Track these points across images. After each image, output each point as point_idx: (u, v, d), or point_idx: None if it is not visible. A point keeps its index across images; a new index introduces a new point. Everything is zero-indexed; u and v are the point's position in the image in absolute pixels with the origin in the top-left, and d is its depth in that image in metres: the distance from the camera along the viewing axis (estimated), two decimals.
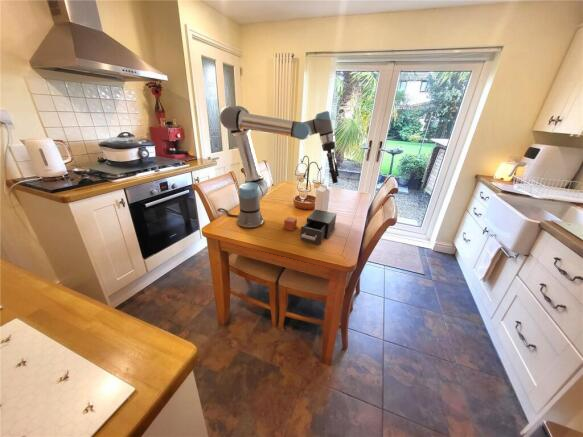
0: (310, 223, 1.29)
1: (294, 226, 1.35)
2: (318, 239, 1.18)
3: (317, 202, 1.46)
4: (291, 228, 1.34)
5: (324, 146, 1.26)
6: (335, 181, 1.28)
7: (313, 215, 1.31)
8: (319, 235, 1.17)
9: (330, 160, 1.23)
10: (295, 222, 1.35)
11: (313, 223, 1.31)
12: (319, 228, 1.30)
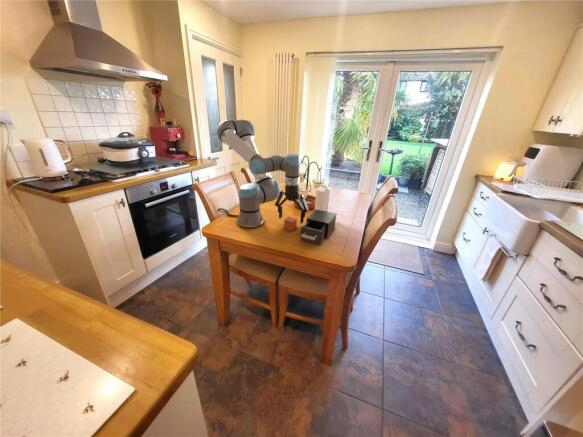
0: (310, 223, 1.29)
1: (294, 226, 1.35)
2: (318, 239, 1.18)
3: (317, 202, 1.46)
4: (291, 228, 1.34)
5: None
6: None
7: (313, 215, 1.31)
8: (319, 235, 1.17)
9: None
10: (295, 222, 1.35)
11: (313, 223, 1.31)
12: (319, 228, 1.30)
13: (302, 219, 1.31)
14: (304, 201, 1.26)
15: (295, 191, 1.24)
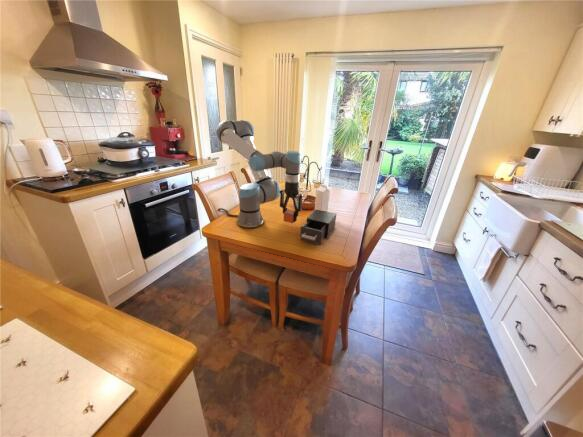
0: (310, 223, 1.29)
1: None
2: (318, 239, 1.18)
3: (317, 202, 1.46)
4: (291, 220, 1.32)
5: None
6: None
7: (313, 215, 1.31)
8: (319, 235, 1.17)
9: None
10: None
11: (313, 223, 1.31)
12: (319, 228, 1.30)
13: (295, 218, 1.33)
14: (301, 201, 1.27)
15: (295, 188, 1.24)
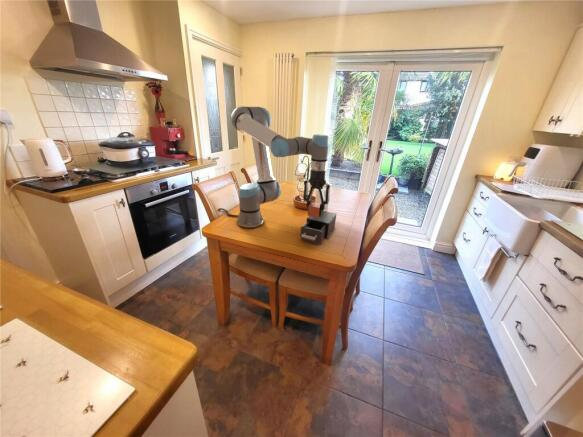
0: (310, 223, 1.29)
1: None
2: (318, 239, 1.18)
3: (317, 202, 1.46)
4: (316, 215, 1.16)
5: None
6: None
7: None
8: (319, 235, 1.17)
9: None
10: None
11: (313, 223, 1.31)
12: (319, 228, 1.30)
13: (321, 212, 1.17)
14: (328, 192, 1.12)
15: (322, 177, 1.08)
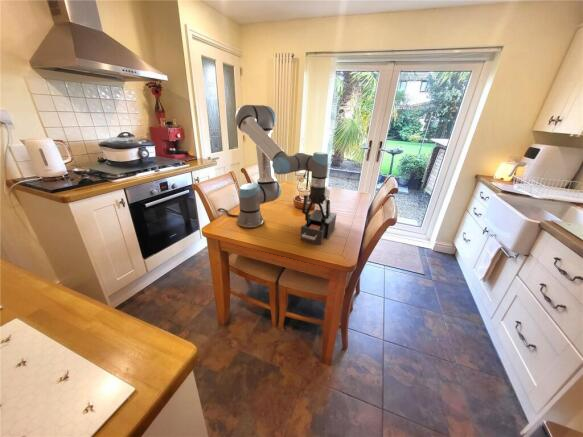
0: (310, 223, 1.29)
1: None
2: (318, 239, 1.19)
3: None
4: None
5: None
6: None
7: (313, 215, 1.31)
8: (319, 235, 1.17)
9: None
10: None
11: (313, 223, 1.31)
12: None
13: (322, 226, 1.20)
14: (329, 207, 1.15)
15: (322, 193, 1.11)
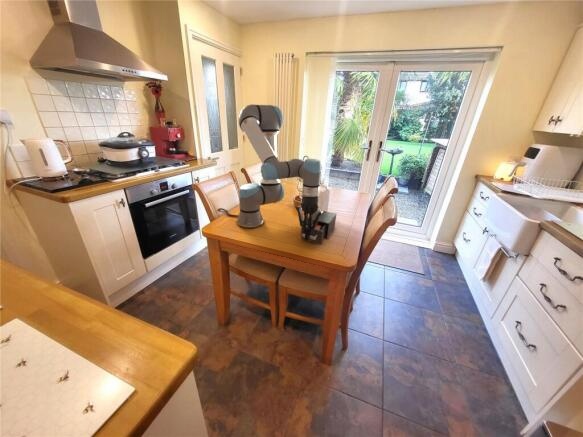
0: None
1: None
2: (318, 239, 1.19)
3: None
4: None
5: None
6: None
7: None
8: (319, 234, 1.18)
9: None
10: None
11: None
12: None
13: (308, 237, 1.14)
14: (318, 218, 1.08)
15: (314, 203, 1.04)
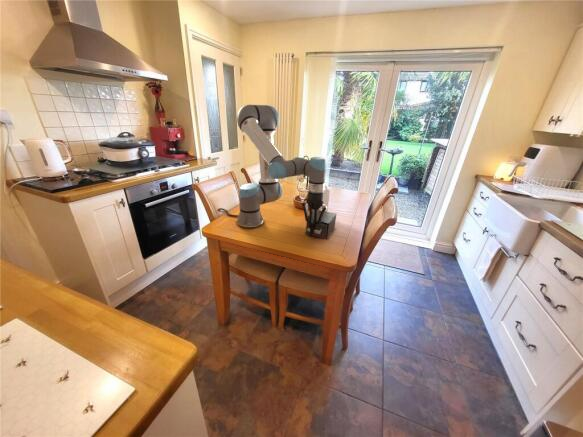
0: None
1: None
2: (323, 233, 1.25)
3: None
4: None
5: None
6: None
7: (313, 215, 1.31)
8: (324, 229, 1.23)
9: None
10: None
11: None
12: None
13: (313, 231, 1.20)
14: (323, 213, 1.14)
15: (319, 199, 1.09)
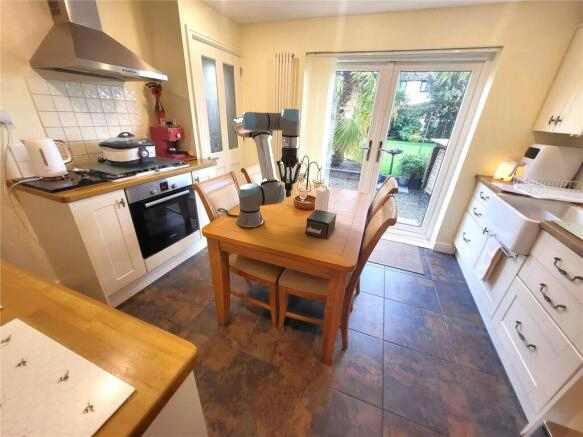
0: None
1: None
2: (323, 233, 1.25)
3: (317, 202, 1.46)
4: None
5: None
6: None
7: (313, 215, 1.31)
8: (324, 229, 1.24)
9: None
10: None
11: None
12: None
13: (289, 192, 1.13)
14: (298, 172, 1.07)
15: (294, 154, 1.03)
